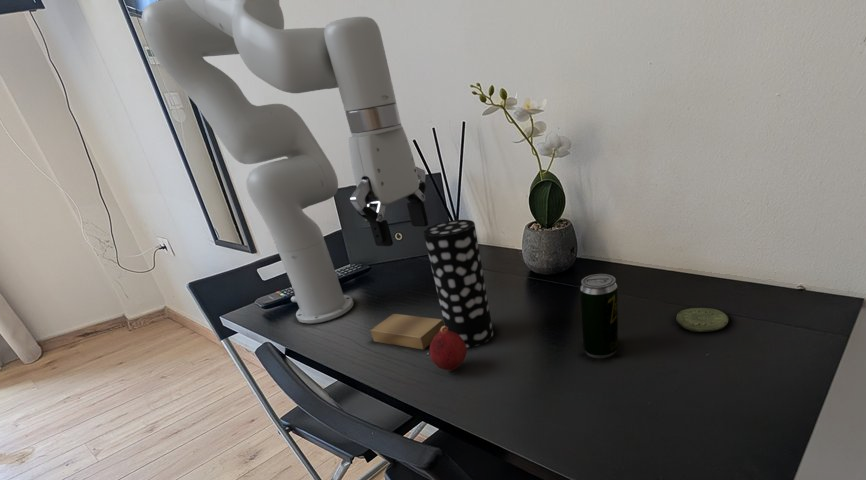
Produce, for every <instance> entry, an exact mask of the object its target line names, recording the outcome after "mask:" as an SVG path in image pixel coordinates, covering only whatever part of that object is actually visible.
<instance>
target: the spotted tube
mask: <svg viewBox="0 0 866 480" xmlns="http://www.w3.org/2000/svg"><path fill="white" fill-rule="evenodd" d="M476 229H477V228H476V224H475V222H474V221H473V220H470V219H452V220H446V221H442V222H438V223H436V224H433V225H431V226H427V227H426V228H425V229H423V237H424V240H425V246H426V251H427V255H428V258H429V263H430V267H431V273H432V276H433V281H434V285H435V289H436V292H437V296H438V302H439V306H440V310H441V315H442V320H443V324H444V326H447V327H448V331H452V332H454V333H456V334H458V335H459V336H460V337H461V338H462V339H463V340H464V342H465V345H466V348H467V349H468V348H474V347H478V346H481V345H483V344H485V343H487V342H488V341H490V340H491V339H492V337H493V336H494V327H493V324H492V323H493V322H492V318H491V311H490V306H489V300H488V295H487V293H488V292H487V288H486V287H487V286H486V281H485V277H484V270H483V265H482V259H481V254H480V247H479V242H478V235H477V230H476Z"/></svg>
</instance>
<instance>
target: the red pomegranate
mask: <svg viewBox="0 0 866 480" xmlns="http://www.w3.org/2000/svg"><path fill="white" fill-rule="evenodd" d="M467 350H468V347H467V348H466V345H465V342H464V340H463V339H462V338H461V337H460V336H459V335H458V334H456V333H454V332H452V331H448V327H447V326H445V325H444V326H442V327H441V329H440V331H439V333H438V334H436V335H435V337H434V338H433V340H432V342H431V344H430V345H429V354H430V355H429V357H430V359H431V361H432V362H433V364H434V365H435V366H436V367H437V368H439V369H442V370H445V371H449V372H450V371H451V372H453V371H454V372H455V371H456V370H457V368H458V367H460V366H461V365H462V364H463V363H464V361H465V359H466V357H467V352H468V351H467Z"/></svg>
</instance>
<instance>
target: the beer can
mask: <svg viewBox="0 0 866 480" xmlns="http://www.w3.org/2000/svg"><path fill="white" fill-rule="evenodd" d="M579 290H580V291H579V292H580V307H581V309H580V311H581V325H582V343H583V350H584V352H585V353H586V355H587V356H589V357H590V358H593V359H607V358H610V357H613V356H614V355H615V354H616V353H617V350H618V348H619V322H618V321H619V313H618V312H619V311H618V310H619V309H618V308H619V307H618V301H619V299H618V284H617V283H616V277H614V275H611V274H607V273H596V274H590V275H587V276H585V277H584V278H582V279H581V285H580V287H579Z"/></svg>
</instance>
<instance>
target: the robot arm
mask: <svg viewBox="0 0 866 480" xmlns="http://www.w3.org/2000/svg"><path fill="white" fill-rule="evenodd" d="M141 28H142V31H143V34H144V37H145V39H146V43H147V44H148V46H149V49H150V50H151V52H152V54H153V55H154V57H155V60H156V61H157V62H158V64H159V65H160V67H161V68H162V70H163V71H164V72H165V73H166V74H167V75H168V77H169V78H170V79H171V80H172V81H173V82H174V83H175V84H176V85H177V86H178V87H179V88H180V89H181V91H183V92H184V93H185V94H186V95H187V96H188V98H190V100H191V101H192V102H193V104H195V106H196V107H197V108H198V110H199V111H200V113H201V114H202V116H203V117H204V119H205V120H206V122H207V123H208V124H209V126H210V128H211V129H212V130H213V133H215V135H216V136H217V138H218V139H219V140H220V142H221V143H222V145H223V146H224V147H225V149H226V150H227V152H228V153H229V154H230V155H231V157H232V158H233V159H234V160H235V161H236V162H238V163H240V164H243V165H253V164H254V165H255V164H259V163H263V164H260V165H258V166H257V167H255V168H253V169H252V170H251V171H250V172H249V173H248V175H247V177H246V181H245V187H246V191H247V194H248V196H249V198H250V199H251V201H252V203H253V204H254V206H255V208H256V209H257V212H258V213H259V215H260V216H261V218H262V219H263V221H264V223H265V225H266V227H267V229H268V231H269V233H270V236H271V238H272V240H273V243H274V245H275V248H276V250H277V252H278V255H279V257H280V261H281V262H282V264H283V268H284V270H285V272H286V275H287V277H288V280H289V282H290V285H291V287H292V290H293V292H294V295H292V296H291V297H290V301H291V302H292V303H297V305H298V310H296V313H295V317H296V319H297V321H298V322H299V323H302V324H319V323H325V322H327V321H332V320H334V319H337V318H339V317H341V316H344V315H345V314H346V313H348V312H349V311H350V310H351V309H352V308H353V306H354V300H353V297H351V296H349V295H347V294H344V292H343V289H342V286H341V284H340V281H339V278H338V275H337V272H336V269H335V266H334V264H333V260H332V258H331V254H330V252H329V249H328V246H327V243H326V241H325V238H324V235H323V232H322V230H321V228H320V226H319V224H317V223H316V221H314V219H312V218H311V217H309V216H308V215H307V214H306V213H305V212H304V209H307V208H308V207H311V206H315V205H317V204H320V203H323V202H325V201H329V200H330V199H332V198H333V197H334V196H336V194H337V192H338V189H339V180H338V175H337V173H336V170H335V168H334V167H333V165H332V163H331V161H330V160H329V158H328V157H327V155H326V153H325V152H324V150H323V148H322V147H321V146H320V144H319V143H318V141H317V139H316V138H315V136H314V134H313V133H312V131H311V130H310V128H309V127H308V125H307V124H306V122H305V121H304V119H303V118H302V116H300V114H299V113H298V112H297V111H296V110H294V109H293V108H292V107H291V106H288V105H287V104H283V103H269V104H268V103H267V104H262V105H255V104H253V103H251V102H250V100H249V99H248V98H247V97H246V96H245V94H244V93H243V91H242V89H241V87H240V86H239V85H238V83H236V81H235V80H234V79H233V78H232V77H230V76H229V75H228V74H227V73H225V72H224V71H223V70H221V69H220V68H218V67H217V66H215V65H213V64H211V63H210V62H208V61H207V60H206V59H205V58H206V57H219V56H221V57H222V56H232V55H239V56H240V58H241V60H242V62H243V63H244V65H245V66H246V67H247V69H248V70H249V71H250V72H251V73H252V74H253V75H255V77H257V78H258V79H260V80H262V82H265V83H266V84H268V85H269V86H271V87H272V88H274V89H276V90H279V91H281V92H285V93H289V94H302V93H310V92H316V91H322V90H332V89H338V91H339V96H340V98H341V99H340V100H341V103H342V105H343V109H344V113H345V116H346V120H347V123H348V127H349V132H350V134H351V136H350V137H348V147H349V148H348V149H349V156H350V163H351V168H352V174H353V179H354V181H355V185H356V188H355V189H354V191H353V193H352V194H351V196H350V197H349V202H350V203H351V204H352V206H353V207H354V208H355V210H356V211H357V214H358V215H359V216H360V217H362V218H363V219H364V221H365V222H367V223H369V226H370V230H371V232H372V236H373V241H374V243H375V245H376V246H377V247H391V246H393V245H394V241H393V238H392V234H391V230H390V226H389V222H388V220H387V219H384V218H385V213H386V209H387V206H388V205H392V204H394V203H396V202H398V201H400V200H403V199H405V198H406V200H407V201H408V202H407V203H406V205H407V206H406V207H407V210H408V214H409V218H410V223H411V226H412V227H423V228H424V227H428V226H429V220H428V217H427V212H426V207H425V201H426V196H425V192H426V171H425V169H423V168H420V167H419V166H416V162H415V159H414V156H413V152H412V149H411V145H410V143H409V140H408V137H407V134H406V131H405V130H404V127H403V125H402V121H401V117H400V112H399V108H398V105H397V104H398V103H397V99H396V95H395V90H394V85H393V81H392V77H391V72H390V68H389V64H388V59H387V55H386V50H385V47H384V46H385V45H384V41H383V38H382V33H381V29H380V27H379V25H378V22H377V21H375V20H374V19H373V18H371V17H368V16H352V17H345V18H340V19H336V20H334V21H330V22H329V23H327V24H326V26H325V27H303V28H300V27H299V28H285V17H284V13H283V10H282V7H281V5H280V0H156V1H153V2H150V3H149V4H148V5H147V6H145V7H144V9H143V11H142V13H141ZM285 157H286V158H285ZM280 158H282V159H280ZM276 159H277V160H276ZM272 160H274V161H272ZM269 161H270V162H269ZM264 162H267V163H264ZM375 209H376V211H375Z"/></svg>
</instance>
